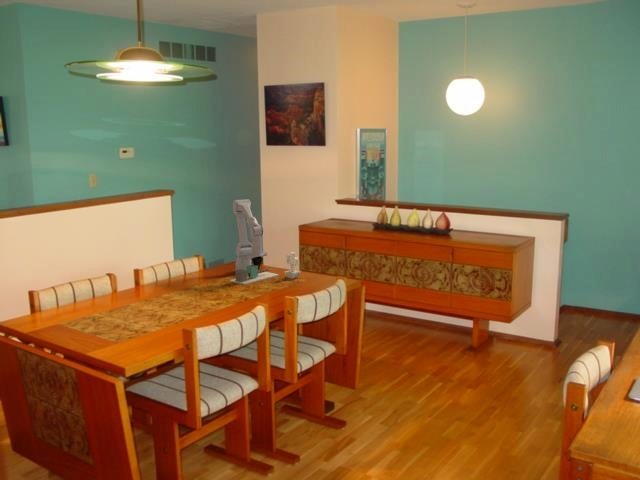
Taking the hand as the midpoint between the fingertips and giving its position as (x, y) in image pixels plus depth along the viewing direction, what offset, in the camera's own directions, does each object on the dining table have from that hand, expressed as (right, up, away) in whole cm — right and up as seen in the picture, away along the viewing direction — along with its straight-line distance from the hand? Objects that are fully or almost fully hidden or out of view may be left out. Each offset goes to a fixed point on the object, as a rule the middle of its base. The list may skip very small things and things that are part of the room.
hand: (257, 269), depth 372 cm
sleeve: (-3, -4, -2) cm, 5 cm away
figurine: (+21, -5, +2) cm, 21 cm away
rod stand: (-1, -5, 0) cm, 5 cm away
